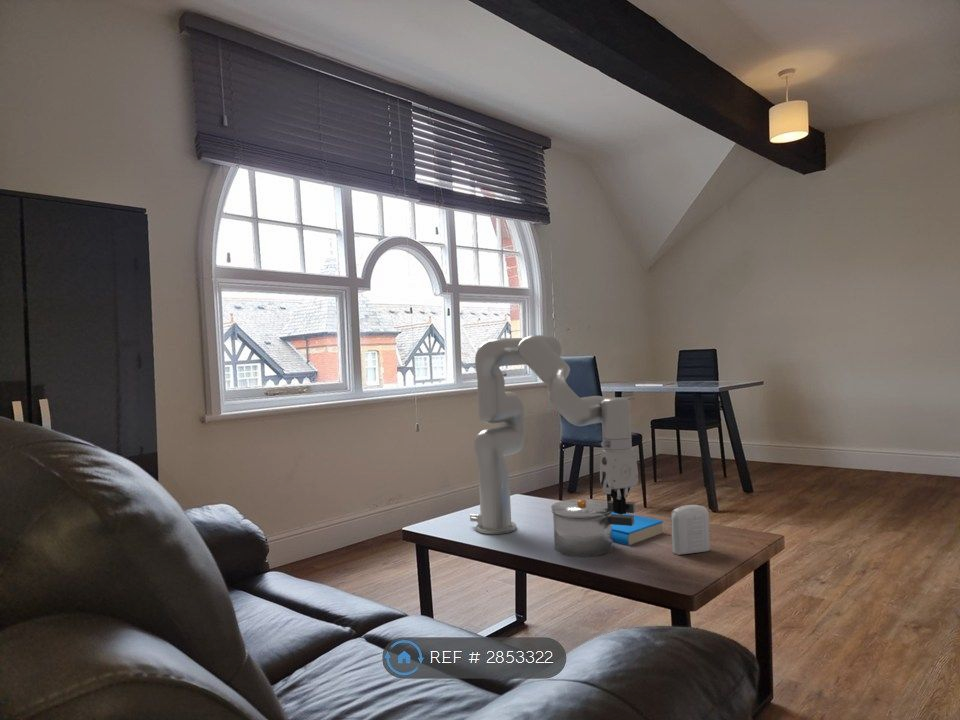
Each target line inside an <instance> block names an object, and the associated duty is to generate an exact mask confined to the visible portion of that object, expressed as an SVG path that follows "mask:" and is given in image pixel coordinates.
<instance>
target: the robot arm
mask: <svg viewBox="0 0 960 720" xmlns="http://www.w3.org/2000/svg"><path fill="white" fill-rule="evenodd" d="M561 355H562V346H561V343H560V341H559V340H558V339H557V338H556V337H554V336H552V335H550V334H549V335H548V334H542V335H541V334H539V335H538V334H534V335H528V336H526V337H510V338H509V337H500V338H497V337H496V338H492V339H489V340H486V341H484V342H483V343H482V344H481V345H480V346H479V347H478V348H477V351H476V353H475V356H474V361H475V363H474V364H475V371H476V378H477V379H476V380H477V386H476V387H477V388H476V389H477V413H478V418H479V419H480V421H481V422H482V423H484V424H489V425H493V424H499V426H495V427H489V428H486V429H483V430H481V431H479V432H478V433H477V434H476V435H475V436H474V437H475V438H474V442H473V446H474V447H473V448H474V449H473V450H474V453H475V456H476V461H477V469H478V470H477V471H478V484H479V485H478V488H479V489H478V490H479V511H480V513H479V514H477V513H470V515H469V521H470V522H476V523H477V524H476V527H475V528H476V529H475V530H476V531H477V532H478V533H481V534H486V535H501V534H508V533H512V532H515V530H516V529H517V523H516V522H514V521H512V508H511V486H510V483H511V482H510V472H509V471H510V470H509V468H508V465H507V463H506V460H505V458H504V457H508V456H512V455H515V454H518V453H519V452H520V451H521V450H522V449H523V447H524V443H525V410H524V404H523V401H522V398H521V397H520V396H519V395H518V394H517V393H515V392H513V391H506V388H505V387H506V386H505V385H506V384H505V382H506V381H505V376H504V374H503V372H502V370H501V369H500V367H506V366H509V367H510V366H523V365H526V366H527V367H528V368H529V369H530V370H531V371H533V373H534V375H536V376H537V377H538V378H539V379H540V380H541V381H542V383H544V384H545V386H546V388H547V394H548V397H549V400H550V402H551V404H552V405H553V407H554V409H555V410H556V411H557V412H558V413H559V414H560V415H561V416H562V417H563V418H564V419H565V421H567V422H568V423H570V424H572V425H573V426H576V427H584V426H589V425H595V424H600V423H601V431H602V436H601V437H602V442H601V443H600V446H601V448H602V450H601V454H600V461H599V462H600V463H599V480H600V481H599V483H600V486H601V487H602V490H601V491H602V494H606V495H609V496H610V498H611V499H612V501H613V512H614V513H617V514H621V515H622V514H627V513H626V502H627V500H626V499H627V498H628V497H629V496H628V494H629V492H630V491H631V490H633V489H635V486H636V485H638V484H639V470H638V461H637V456H636V455H637V454H636V452H635V449H634V448H633V444H632V442H633V441H632V417H631V416H632V415H631V414H632V413H631V402H630V400H629V399H628V398H627V397H614V396H613V397H607V396H601V395H591V396H583V397H580V396H578V394H577V393H575V392H574V390H573V389H571V387H570V386H569V385H568V383H567V378H568V377H569V375H570V372H571V367H570V366H569V364H568V363H567V362H566V361H565V360H564V359H563V358H562V357H561Z"/></svg>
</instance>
